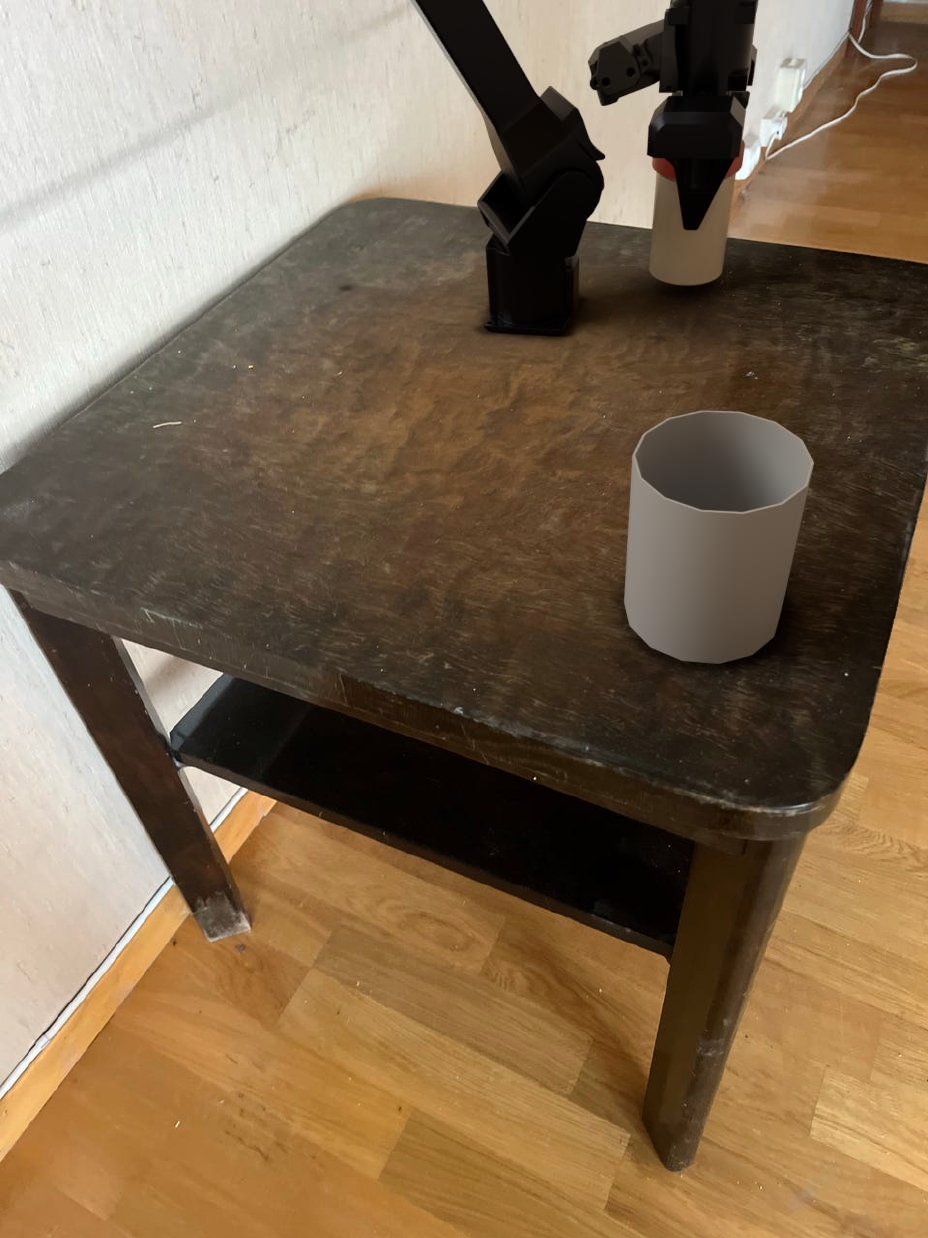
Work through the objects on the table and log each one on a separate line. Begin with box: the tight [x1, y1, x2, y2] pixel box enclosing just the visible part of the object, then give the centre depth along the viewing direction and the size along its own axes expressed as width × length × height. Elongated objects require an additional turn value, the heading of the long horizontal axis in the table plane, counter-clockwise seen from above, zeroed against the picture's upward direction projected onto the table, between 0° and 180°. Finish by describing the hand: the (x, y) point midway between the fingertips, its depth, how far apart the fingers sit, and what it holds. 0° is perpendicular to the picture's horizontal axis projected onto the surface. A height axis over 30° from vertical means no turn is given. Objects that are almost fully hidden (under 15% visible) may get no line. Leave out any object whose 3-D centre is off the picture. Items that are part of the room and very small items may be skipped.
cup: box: [623, 410, 815, 665], centre depth 49 cm, size 8×8×10 cm
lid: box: [651, 138, 746, 179], centre depth 72 cm, size 7×7×2 cm
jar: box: [648, 172, 737, 286], centre depth 75 cm, size 6×6×9 cm
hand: (694, 212), depth 75 cm, fingers closed on jar, lid, 6 cm apart
